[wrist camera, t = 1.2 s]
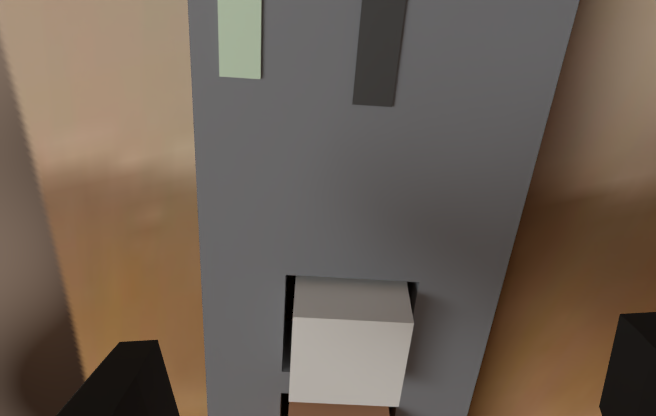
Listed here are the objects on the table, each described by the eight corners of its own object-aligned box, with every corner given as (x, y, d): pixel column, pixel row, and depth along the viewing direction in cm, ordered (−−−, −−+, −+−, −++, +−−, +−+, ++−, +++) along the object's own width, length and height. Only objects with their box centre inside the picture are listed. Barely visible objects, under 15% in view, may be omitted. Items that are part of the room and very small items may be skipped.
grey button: (391, 351, 21) (398, 407, 19) (292, 346, 21) (288, 401, 19) (405, 271, 19) (413, 323, 17) (296, 265, 19) (292, 316, 17)
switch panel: (436, 437, 26) (446, 494, 23) (221, 427, 25) (210, 484, 23) (611, -293, 13) (668, -321, 11) (196, -330, 13) (168, -365, 11)
